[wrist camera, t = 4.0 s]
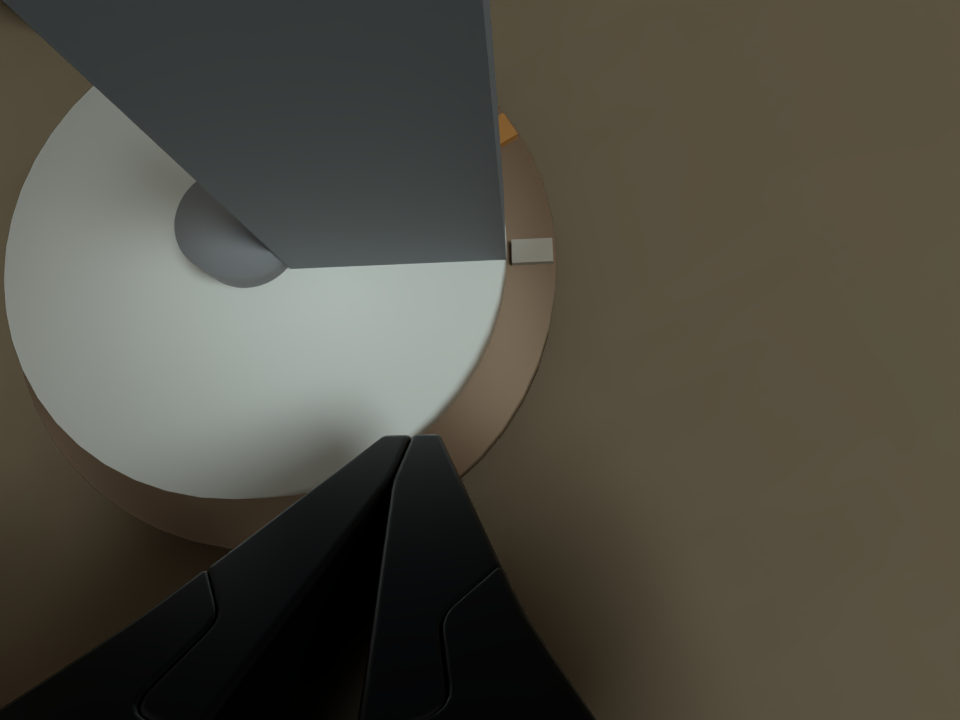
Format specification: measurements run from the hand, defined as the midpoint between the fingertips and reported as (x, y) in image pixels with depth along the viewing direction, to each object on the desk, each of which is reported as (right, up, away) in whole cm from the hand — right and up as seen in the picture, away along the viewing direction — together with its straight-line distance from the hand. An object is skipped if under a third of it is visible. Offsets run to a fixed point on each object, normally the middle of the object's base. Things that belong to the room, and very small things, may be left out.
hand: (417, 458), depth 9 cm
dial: (-4, +4, +7) cm, 9 cm away
